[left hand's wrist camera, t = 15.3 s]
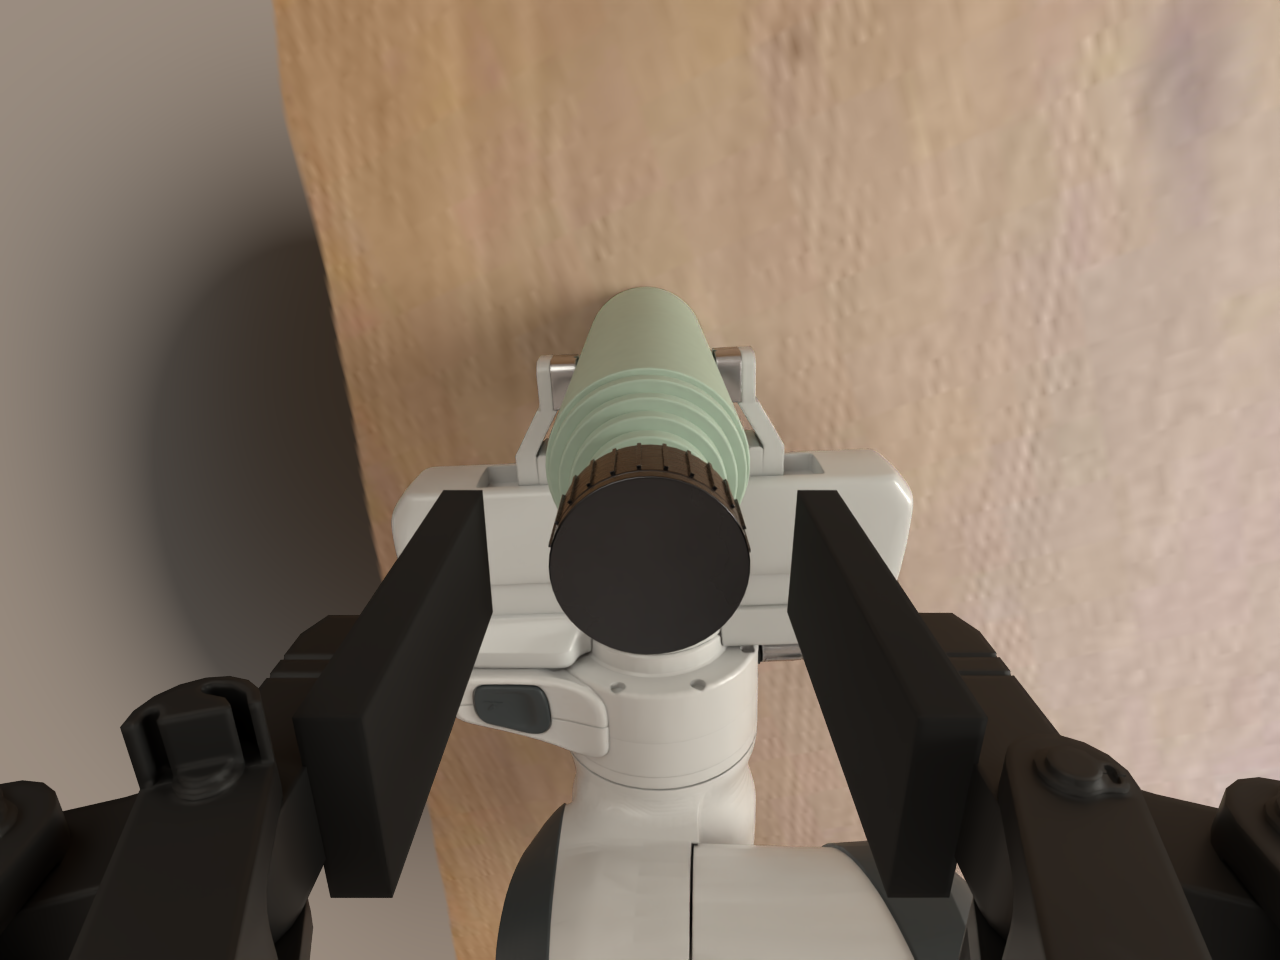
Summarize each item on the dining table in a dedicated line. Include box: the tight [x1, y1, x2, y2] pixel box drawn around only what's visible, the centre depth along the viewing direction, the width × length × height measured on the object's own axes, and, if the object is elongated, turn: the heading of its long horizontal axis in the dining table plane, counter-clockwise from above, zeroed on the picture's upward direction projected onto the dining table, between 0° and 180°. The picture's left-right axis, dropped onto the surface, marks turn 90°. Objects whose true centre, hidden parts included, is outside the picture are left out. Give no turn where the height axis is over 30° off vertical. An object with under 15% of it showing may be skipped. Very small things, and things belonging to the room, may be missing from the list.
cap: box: [548, 443, 751, 655], centre depth 14 cm, size 4×4×2 cm
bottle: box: [545, 287, 750, 509], centre depth 23 cm, size 5×5×21 cm
